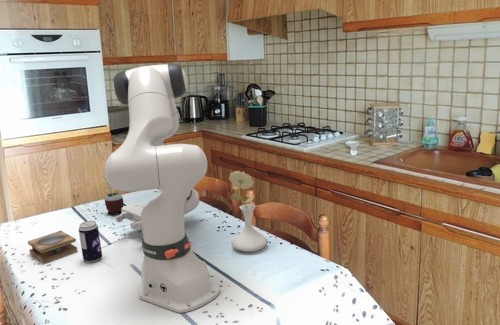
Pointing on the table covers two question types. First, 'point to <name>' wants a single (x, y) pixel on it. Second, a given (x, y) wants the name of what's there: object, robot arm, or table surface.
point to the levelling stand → (52, 246)
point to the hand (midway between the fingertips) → (124, 223)
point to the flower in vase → (246, 217)
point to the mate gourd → (113, 202)
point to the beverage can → (90, 241)
